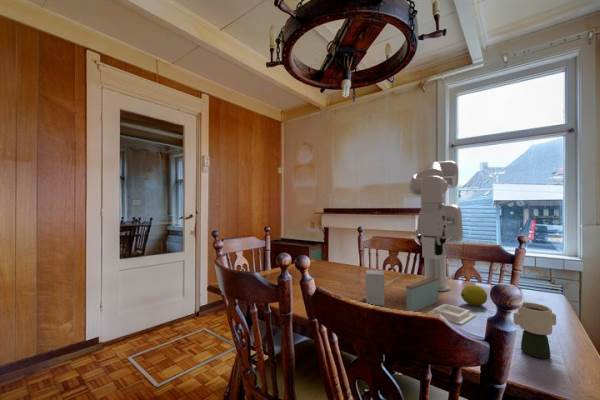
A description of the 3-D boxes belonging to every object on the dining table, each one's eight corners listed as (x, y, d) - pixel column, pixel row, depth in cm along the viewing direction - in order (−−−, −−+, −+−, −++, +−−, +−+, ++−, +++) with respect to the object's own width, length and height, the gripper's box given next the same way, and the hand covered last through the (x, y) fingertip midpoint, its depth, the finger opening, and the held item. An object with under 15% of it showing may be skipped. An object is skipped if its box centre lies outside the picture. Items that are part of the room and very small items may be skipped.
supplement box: (385, 305, 111) (384, 274, 111) (366, 304, 112) (365, 273, 113) (383, 299, 118) (382, 270, 118) (365, 298, 120) (365, 269, 120)
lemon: (479, 301, 115) (479, 282, 115) (493, 308, 107) (493, 288, 107) (454, 302, 114) (454, 283, 114) (467, 309, 106) (466, 288, 107)
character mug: (545, 347, 78) (544, 302, 78) (568, 362, 71) (567, 311, 71) (505, 346, 79) (504, 301, 79) (524, 361, 72) (523, 311, 72)
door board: (432, 300, 117) (432, 277, 117) (438, 301, 115) (437, 278, 115) (406, 311, 105) (406, 286, 105) (411, 313, 103) (411, 287, 103)
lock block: (429, 255, 111) (428, 235, 111) (441, 257, 107) (441, 237, 107) (422, 257, 108) (422, 236, 108) (434, 259, 104) (434, 237, 104)
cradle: (442, 306, 110) (442, 301, 110) (476, 316, 100) (476, 310, 100) (427, 314, 102) (427, 308, 102) (461, 325, 93) (461, 319, 93)
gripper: (458, 207, 103) (459, 256, 103) (416, 207, 117) (417, 250, 116) (448, 207, 99) (449, 258, 98) (406, 207, 113) (406, 252, 112)
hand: (432, 253), depth 107 cm, fingers closed on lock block, 5 cm apart
